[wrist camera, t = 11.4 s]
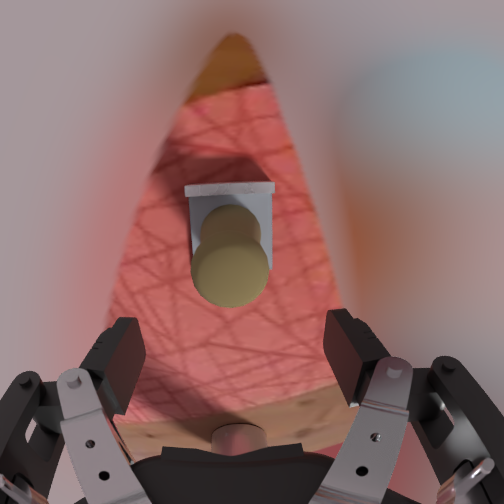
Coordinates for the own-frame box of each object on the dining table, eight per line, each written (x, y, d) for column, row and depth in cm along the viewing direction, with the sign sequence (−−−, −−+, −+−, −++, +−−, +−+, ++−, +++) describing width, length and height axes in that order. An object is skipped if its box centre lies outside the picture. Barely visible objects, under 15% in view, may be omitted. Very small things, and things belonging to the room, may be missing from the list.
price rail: (270, 190, 27) (274, 193, 24) (189, 194, 26) (185, 197, 24) (270, 180, 26) (274, 182, 24) (188, 184, 26) (184, 185, 23)
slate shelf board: (271, 267, 29) (272, 269, 28) (195, 270, 29) (194, 272, 28) (270, 190, 27) (271, 191, 26) (189, 194, 26) (188, 194, 25)
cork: (239, 274, 28) (243, 336, 18) (188, 243, 27) (163, 291, 17) (273, 226, 27) (298, 266, 17) (221, 192, 26) (214, 210, 15)
